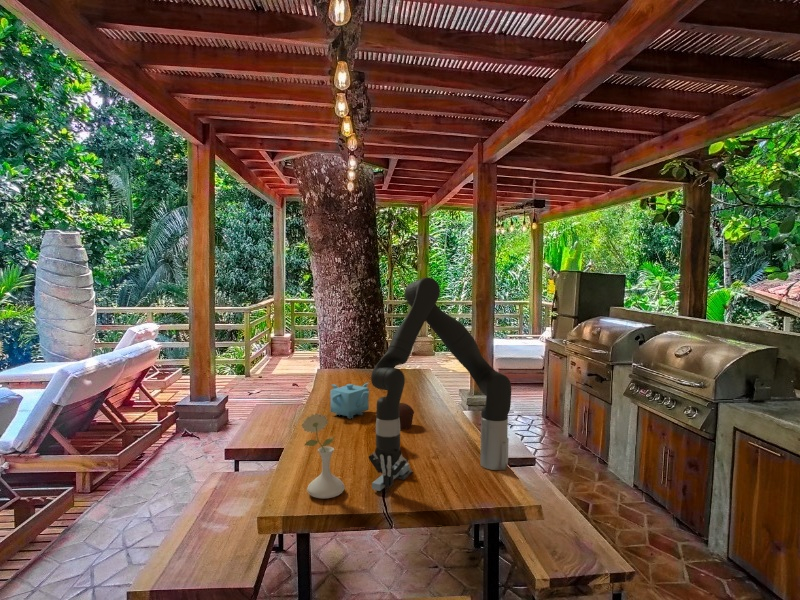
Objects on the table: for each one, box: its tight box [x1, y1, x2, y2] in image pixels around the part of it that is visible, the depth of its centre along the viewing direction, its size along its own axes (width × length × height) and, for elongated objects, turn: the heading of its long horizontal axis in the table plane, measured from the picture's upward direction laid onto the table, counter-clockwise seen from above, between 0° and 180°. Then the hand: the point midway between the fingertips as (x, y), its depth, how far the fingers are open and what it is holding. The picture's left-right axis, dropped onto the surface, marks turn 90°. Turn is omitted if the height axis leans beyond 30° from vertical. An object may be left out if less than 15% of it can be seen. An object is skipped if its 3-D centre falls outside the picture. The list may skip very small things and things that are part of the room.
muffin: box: [399, 402, 415, 430], centre depth 205 cm, size 12×11×10 cm
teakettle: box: [330, 382, 370, 420], centre depth 222 cm, size 19×19×15 cm
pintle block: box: [395, 459, 413, 481], centre depth 156 cm, size 7×7×7 cm
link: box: [371, 462, 410, 492], centre depth 151 cm, size 18×5×2 cm, turn 153°
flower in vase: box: [301, 413, 345, 499], centre depth 142 cm, size 13×11×25 cm
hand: (388, 486), depth 143 cm, fingers closed
